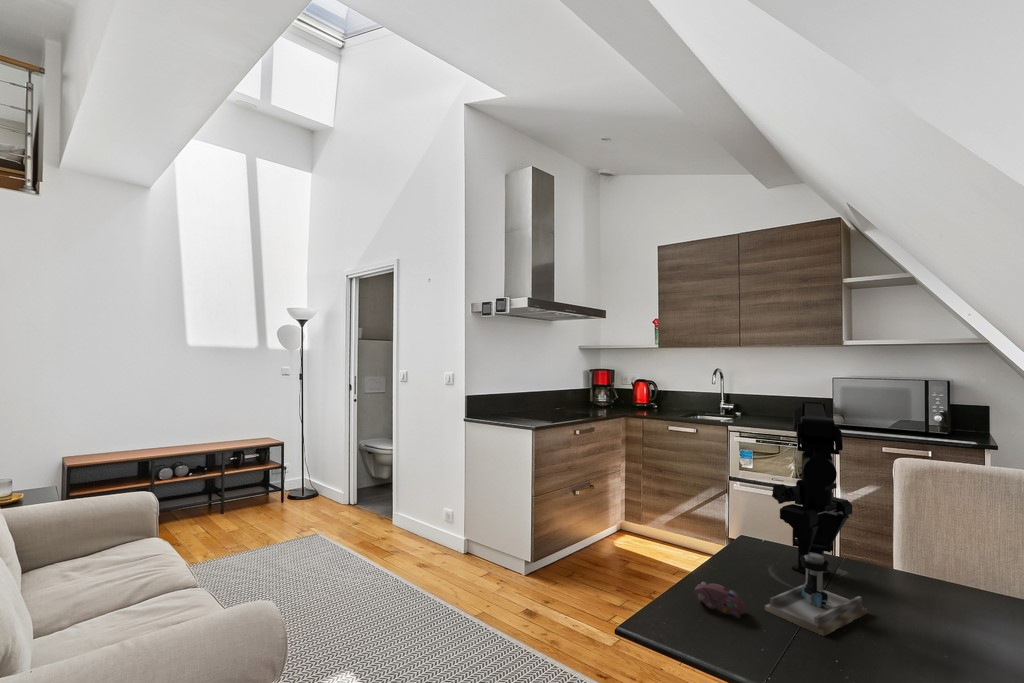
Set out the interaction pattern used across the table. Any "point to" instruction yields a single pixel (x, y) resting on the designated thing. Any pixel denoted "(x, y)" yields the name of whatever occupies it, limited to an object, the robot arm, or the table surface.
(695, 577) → the table surface
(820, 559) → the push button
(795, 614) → the rail board
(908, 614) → the table surface
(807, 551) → the robot arm
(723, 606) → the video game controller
